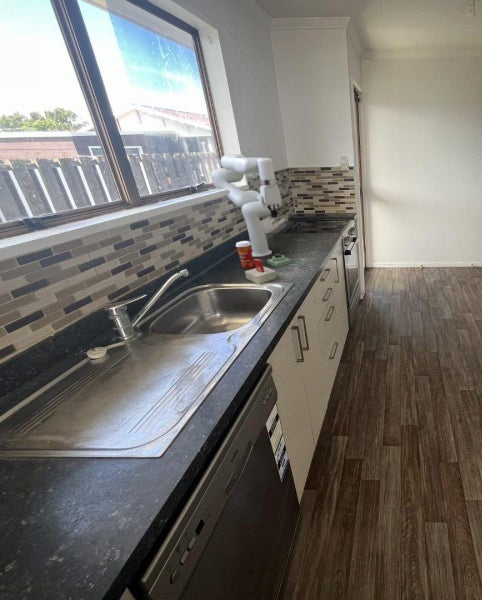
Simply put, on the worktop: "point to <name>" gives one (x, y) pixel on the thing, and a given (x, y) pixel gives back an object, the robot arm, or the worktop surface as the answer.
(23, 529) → the worktop surface
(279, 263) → the switch block
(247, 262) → the paper cup
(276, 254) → the button
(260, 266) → the tap handle
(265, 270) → the block
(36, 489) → the worktop surface
